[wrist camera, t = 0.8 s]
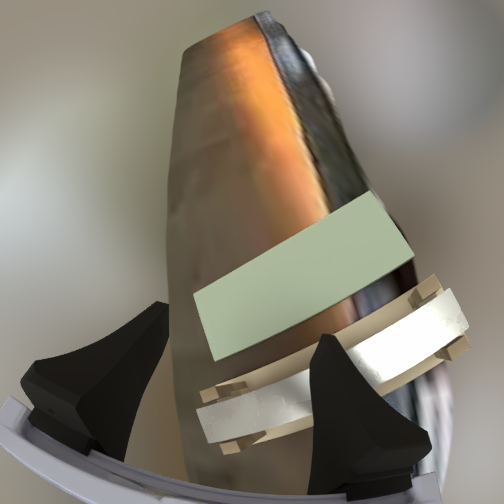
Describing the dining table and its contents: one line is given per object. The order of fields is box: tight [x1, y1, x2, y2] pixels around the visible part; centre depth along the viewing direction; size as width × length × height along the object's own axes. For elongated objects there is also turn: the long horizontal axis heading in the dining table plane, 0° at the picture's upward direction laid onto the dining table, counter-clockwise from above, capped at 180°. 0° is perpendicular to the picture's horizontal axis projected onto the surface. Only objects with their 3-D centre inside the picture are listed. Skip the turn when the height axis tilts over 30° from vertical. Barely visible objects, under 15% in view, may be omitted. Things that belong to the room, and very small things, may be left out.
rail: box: [196, 288, 469, 443], centre depth 17 cm, size 20×3×3 cm, turn 114°
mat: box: [193, 191, 415, 361], centre depth 26 cm, size 8×22×1 cm, turn 114°
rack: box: [200, 274, 470, 455], centre depth 19 cm, size 7×23×6 cm, turn 114°
